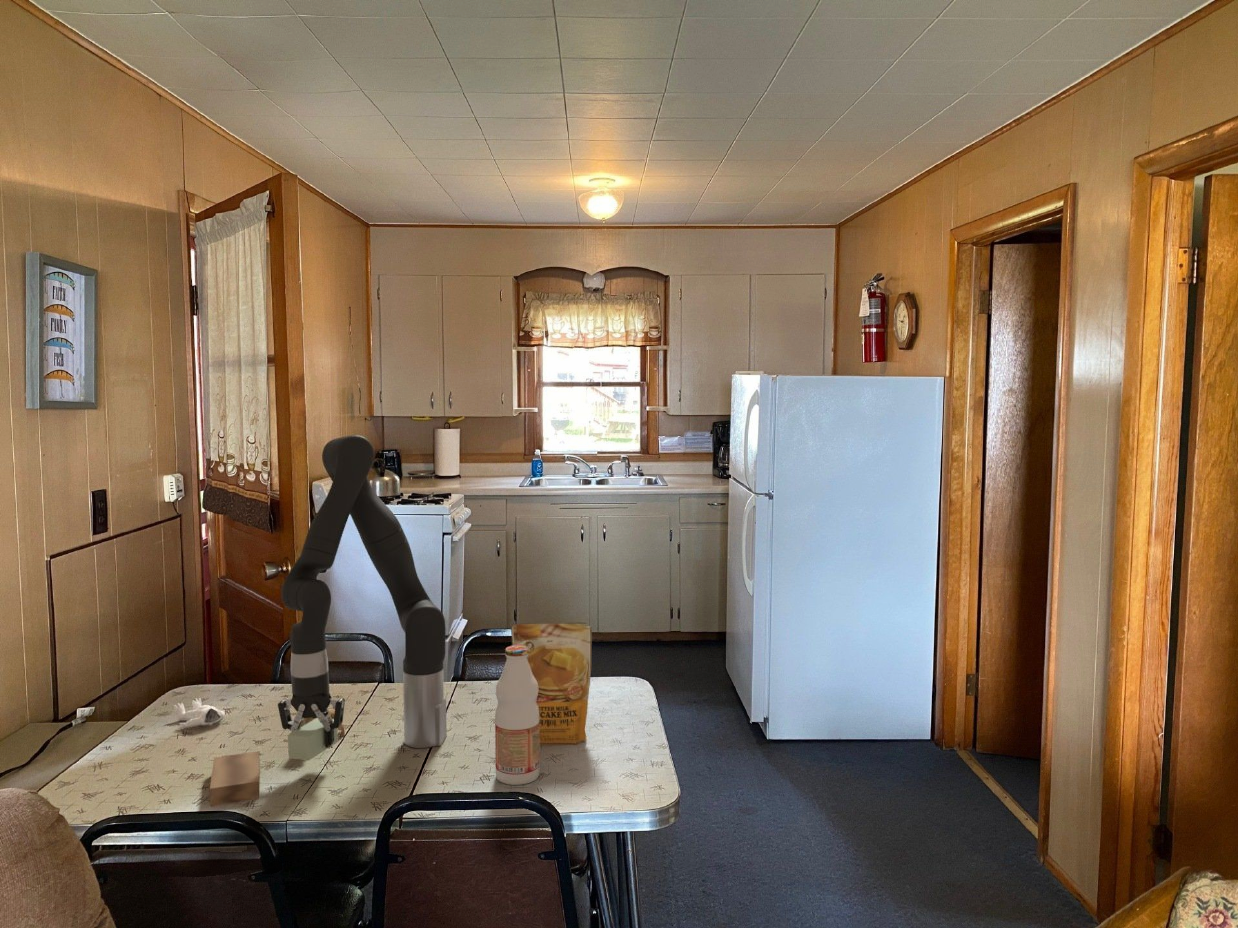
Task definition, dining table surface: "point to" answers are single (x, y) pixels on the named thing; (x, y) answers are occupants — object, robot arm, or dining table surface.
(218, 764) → the walnut brick
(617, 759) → the dining table surface
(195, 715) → the toy creature
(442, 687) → the robot arm
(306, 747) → the sage brick
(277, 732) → the dining table surface
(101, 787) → the dining table surface
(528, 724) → the fruit juice
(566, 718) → the pancake mix bag
